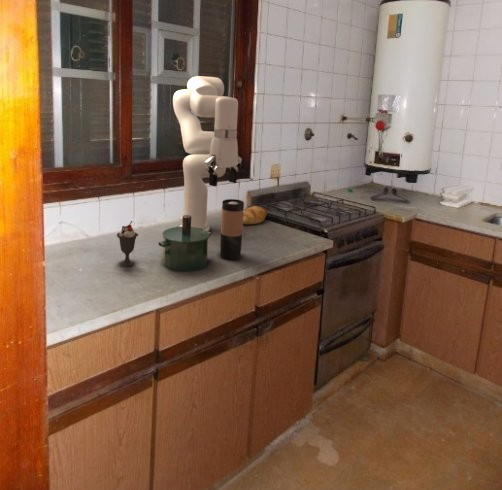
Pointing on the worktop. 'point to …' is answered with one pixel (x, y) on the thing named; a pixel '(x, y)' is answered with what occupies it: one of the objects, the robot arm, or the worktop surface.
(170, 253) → the pot
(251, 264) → the worktop surface
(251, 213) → the bread loaf
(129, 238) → the sundae
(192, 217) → the robot arm
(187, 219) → the lid
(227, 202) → the travel mug
